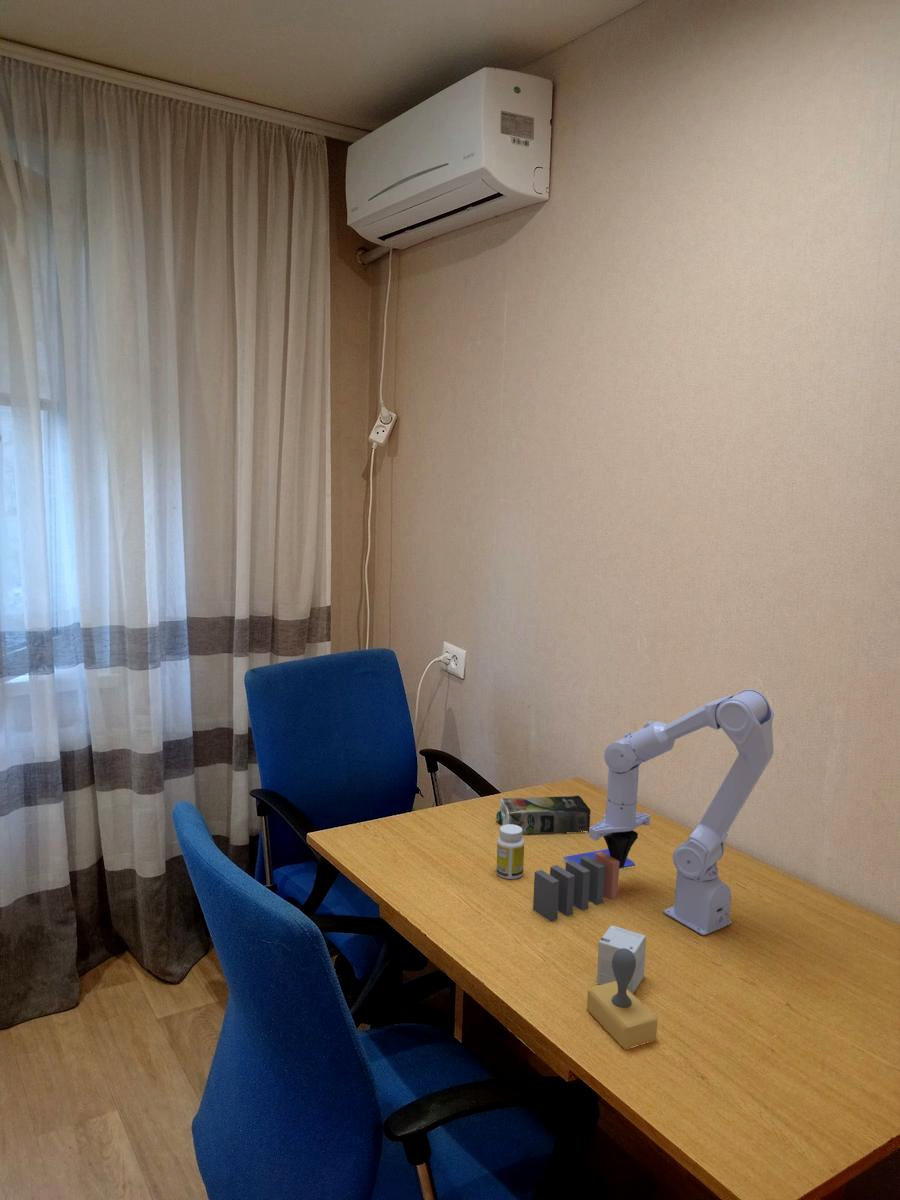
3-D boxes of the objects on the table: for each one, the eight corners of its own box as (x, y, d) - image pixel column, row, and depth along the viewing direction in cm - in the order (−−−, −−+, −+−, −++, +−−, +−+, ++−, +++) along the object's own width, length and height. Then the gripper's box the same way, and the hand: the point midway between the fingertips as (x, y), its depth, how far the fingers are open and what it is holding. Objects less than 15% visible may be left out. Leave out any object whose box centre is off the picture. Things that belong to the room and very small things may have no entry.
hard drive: (585, 872, 170) (635, 863, 175) (563, 855, 177) (612, 846, 182) (584, 880, 170) (635, 870, 175) (563, 862, 177) (612, 853, 182)
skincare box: (644, 977, 137) (647, 934, 135) (632, 996, 131) (635, 952, 130) (608, 965, 140) (611, 923, 139) (595, 983, 134) (598, 940, 133)
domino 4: (584, 892, 164) (586, 855, 163) (602, 903, 160) (605, 866, 159) (578, 894, 163) (580, 857, 162) (596, 905, 159) (598, 868, 158)
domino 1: (539, 907, 158) (541, 869, 156) (557, 919, 153) (559, 880, 152) (532, 909, 157) (534, 871, 156) (550, 921, 153) (552, 882, 151)
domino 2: (554, 902, 160) (556, 864, 159) (572, 913, 156) (574, 875, 154) (548, 904, 159) (550, 866, 158) (566, 916, 155) (568, 877, 154)
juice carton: (503, 837, 188) (504, 811, 187) (494, 819, 198) (496, 794, 197) (590, 835, 191) (591, 809, 190) (577, 818, 201) (578, 793, 200)
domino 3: (570, 897, 162) (572, 860, 161) (587, 908, 158) (590, 870, 157) (563, 899, 161) (565, 862, 160) (581, 910, 157) (583, 872, 156)
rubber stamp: (585, 1009, 128) (589, 936, 126) (617, 1001, 130) (621, 929, 128) (624, 1051, 119) (629, 972, 117) (657, 1041, 121) (663, 964, 119)
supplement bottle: (523, 868, 173) (525, 824, 171) (522, 880, 168) (524, 835, 166) (496, 866, 173) (498, 822, 172) (495, 878, 168) (497, 833, 167)
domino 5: (598, 887, 166) (601, 851, 165) (617, 898, 162) (619, 861, 161) (593, 889, 165) (595, 853, 164) (611, 900, 161) (613, 863, 160)
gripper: (633, 786, 170) (629, 849, 172) (579, 799, 162) (575, 866, 164) (659, 797, 164) (655, 863, 166) (605, 812, 156) (601, 881, 158)
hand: (617, 865), depth 164 cm, fingers closed
